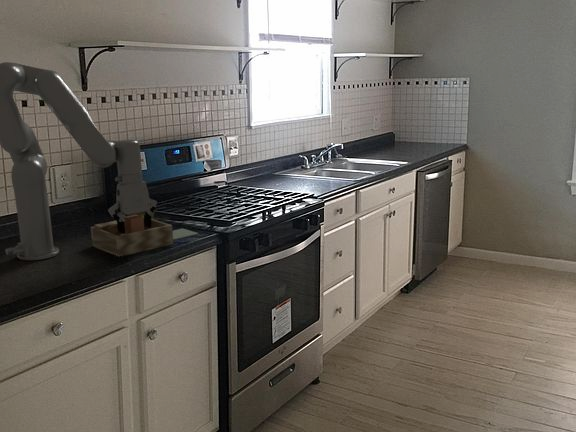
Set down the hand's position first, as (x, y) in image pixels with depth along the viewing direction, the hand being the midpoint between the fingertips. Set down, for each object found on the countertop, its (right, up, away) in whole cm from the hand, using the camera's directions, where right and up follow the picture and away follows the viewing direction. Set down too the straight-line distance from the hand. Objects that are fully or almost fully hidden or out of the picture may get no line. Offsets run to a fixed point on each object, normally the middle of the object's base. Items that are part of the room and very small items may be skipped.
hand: (135, 229), depth 215 cm
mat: (+12, -2, +14) cm, 19 cm away
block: (0, -2, 0) cm, 2 cm away
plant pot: (-2, 0, +26) cm, 26 cm away
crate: (-1, -5, +3) cm, 6 cm away
